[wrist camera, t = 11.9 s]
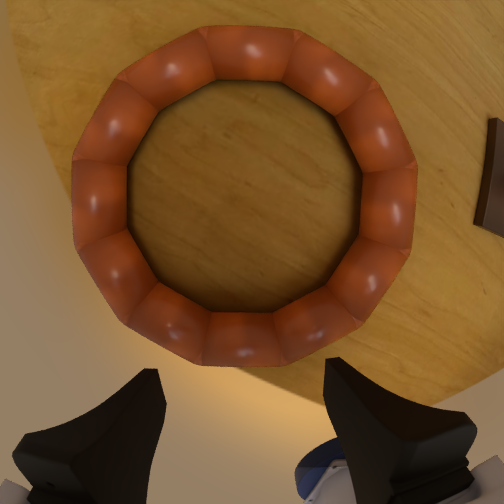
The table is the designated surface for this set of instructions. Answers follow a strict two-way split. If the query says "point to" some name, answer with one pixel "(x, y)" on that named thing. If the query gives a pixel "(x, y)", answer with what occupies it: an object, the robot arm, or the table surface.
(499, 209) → the square peg base
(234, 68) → the ring
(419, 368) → the table surface
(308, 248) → the table surface
